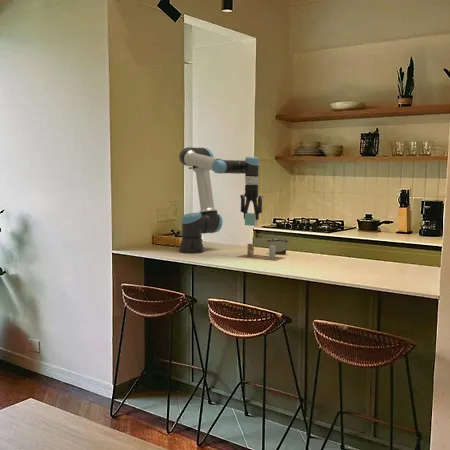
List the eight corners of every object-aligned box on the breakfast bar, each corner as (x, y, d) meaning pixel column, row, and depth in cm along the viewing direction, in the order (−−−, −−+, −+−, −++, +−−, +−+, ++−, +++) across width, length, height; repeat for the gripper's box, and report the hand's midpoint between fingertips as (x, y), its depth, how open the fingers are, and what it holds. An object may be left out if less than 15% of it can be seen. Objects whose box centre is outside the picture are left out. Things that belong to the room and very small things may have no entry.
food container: (287, 254, 334) (288, 238, 333) (288, 256, 328) (288, 239, 327) (267, 254, 335) (267, 237, 334) (266, 255, 329) (267, 238, 328)
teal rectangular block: (244, 225, 318) (244, 213, 318) (249, 224, 323) (249, 213, 322) (252, 225, 316) (252, 214, 315) (257, 225, 320) (257, 213, 319)
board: (235, 258, 318) (235, 256, 318) (248, 255, 330) (248, 253, 330) (275, 262, 304) (275, 260, 304) (286, 259, 316) (286, 257, 316)
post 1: (247, 256, 320) (247, 244, 320) (249, 255, 323) (249, 243, 322) (251, 256, 319) (251, 244, 318) (253, 256, 321) (253, 244, 320)
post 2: (269, 258, 313) (269, 246, 312) (271, 257, 315) (271, 245, 314) (273, 258, 311) (273, 246, 311) (275, 258, 314) (275, 245, 313)
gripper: (234, 183, 319) (233, 224, 321) (262, 184, 309) (261, 226, 311) (241, 183, 325) (240, 223, 327) (269, 184, 315) (268, 225, 317)
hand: (250, 225), depth 319 cm, fingers closed on teal rectangular block, 5 cm apart
